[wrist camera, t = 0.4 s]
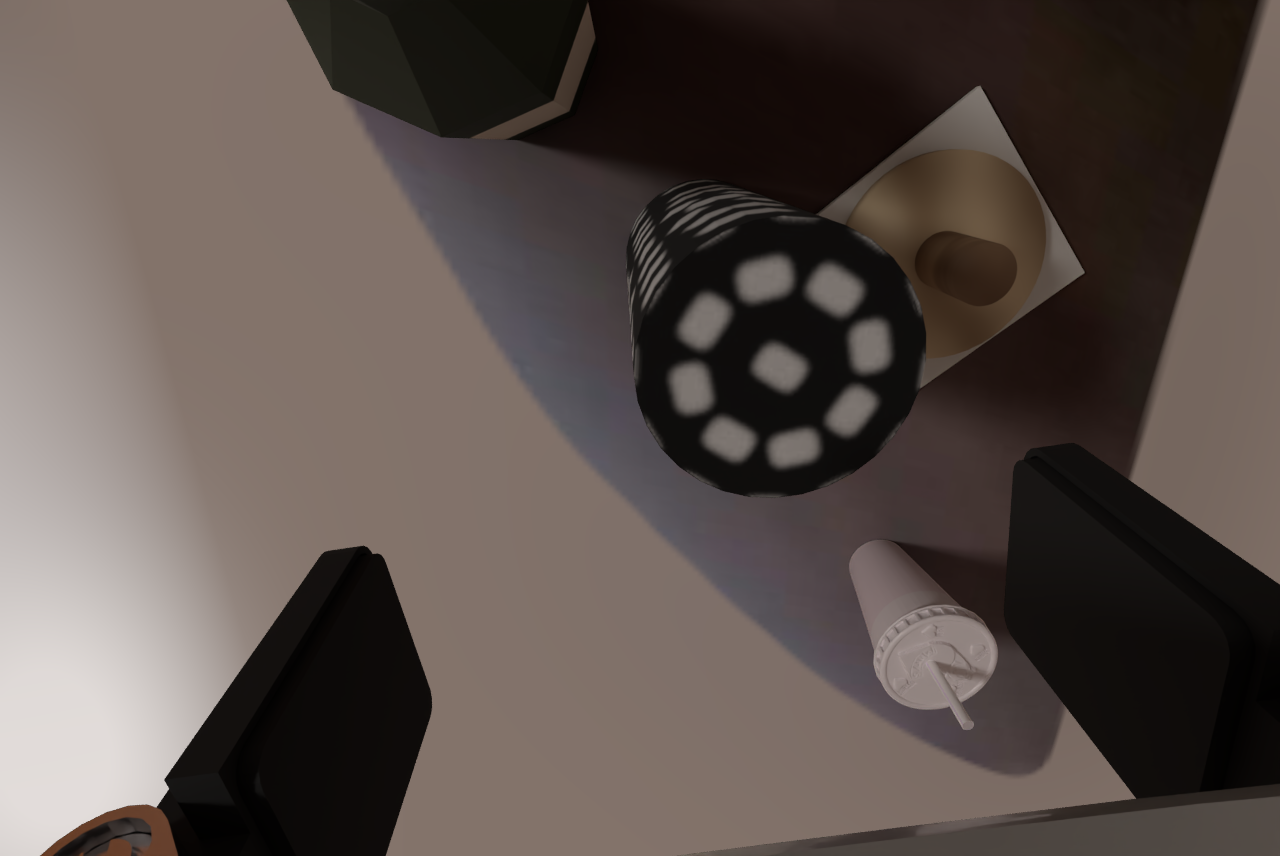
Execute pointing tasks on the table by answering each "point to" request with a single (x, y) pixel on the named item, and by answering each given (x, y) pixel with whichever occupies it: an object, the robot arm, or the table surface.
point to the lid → (958, 241)
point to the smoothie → (920, 632)
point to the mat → (980, 131)
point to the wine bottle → (456, 60)
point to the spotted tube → (767, 340)
